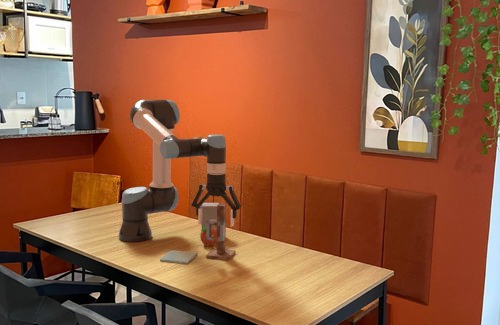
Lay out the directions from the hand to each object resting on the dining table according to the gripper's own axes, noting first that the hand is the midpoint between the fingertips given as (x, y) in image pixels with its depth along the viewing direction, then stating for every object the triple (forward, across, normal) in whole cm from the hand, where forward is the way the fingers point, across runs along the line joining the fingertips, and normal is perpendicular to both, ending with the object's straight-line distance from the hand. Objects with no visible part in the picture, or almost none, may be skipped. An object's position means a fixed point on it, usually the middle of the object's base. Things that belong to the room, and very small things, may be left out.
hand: (216, 224), depth 206 cm
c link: (+6, 0, 0) cm, 6 cm away
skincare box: (+16, -13, +34) cm, 40 cm away
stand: (+16, 0, +5) cm, 16 cm away
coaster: (+16, -16, 0) cm, 23 cm away
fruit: (+16, -9, +20) cm, 27 cm away
